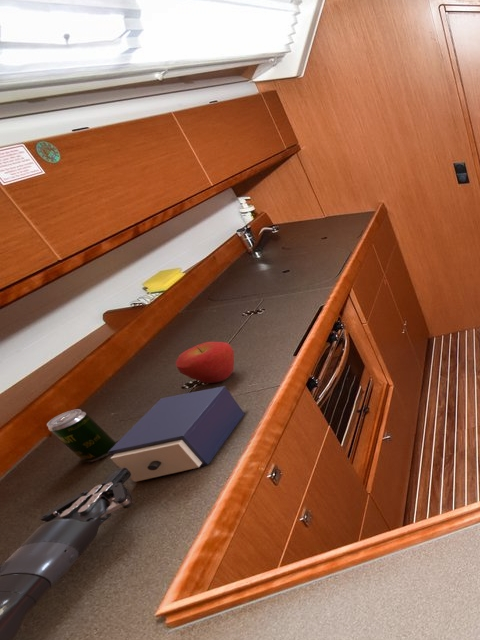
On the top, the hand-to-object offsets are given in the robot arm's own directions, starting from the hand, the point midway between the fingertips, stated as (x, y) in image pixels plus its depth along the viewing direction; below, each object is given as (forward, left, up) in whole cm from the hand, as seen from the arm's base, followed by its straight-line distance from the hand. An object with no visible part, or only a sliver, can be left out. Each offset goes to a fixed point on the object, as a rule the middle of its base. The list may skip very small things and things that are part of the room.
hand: (123, 471), depth 84 cm
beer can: (-13, +19, -7) cm, 24 cm away
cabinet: (+6, +10, -6) cm, 13 cm away
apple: (+5, +37, -7) cm, 38 cm away
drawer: (+6, +8, -6) cm, 11 cm away
